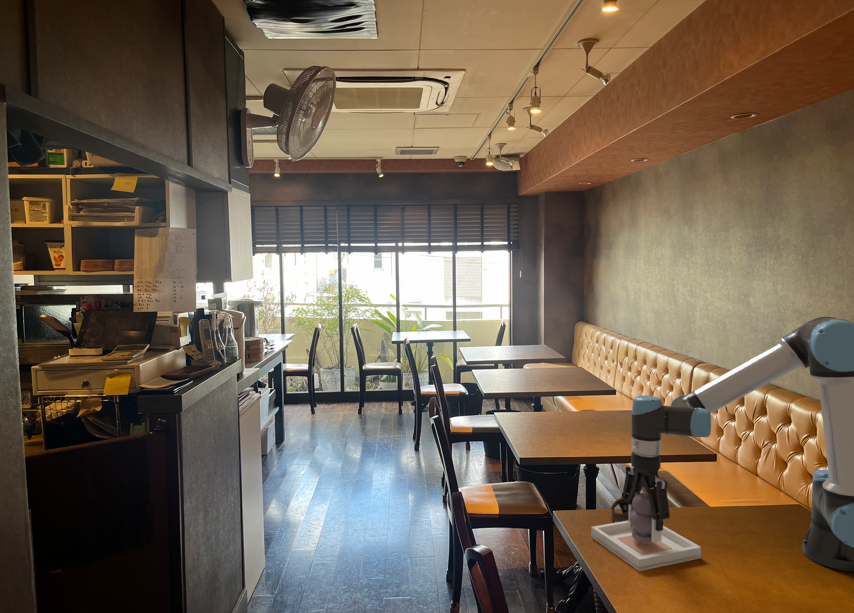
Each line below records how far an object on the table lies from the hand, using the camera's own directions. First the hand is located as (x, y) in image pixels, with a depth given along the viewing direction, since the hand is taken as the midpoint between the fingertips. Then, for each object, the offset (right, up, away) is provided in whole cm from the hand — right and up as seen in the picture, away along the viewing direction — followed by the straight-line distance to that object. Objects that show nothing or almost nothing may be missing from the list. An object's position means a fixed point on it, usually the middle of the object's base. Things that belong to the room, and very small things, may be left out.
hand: (644, 533), depth 156 cm
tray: (0, -4, 0) cm, 4 cm away
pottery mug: (+1, -3, +17) cm, 17 cm away
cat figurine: (0, -1, 0) cm, 1 cm away
